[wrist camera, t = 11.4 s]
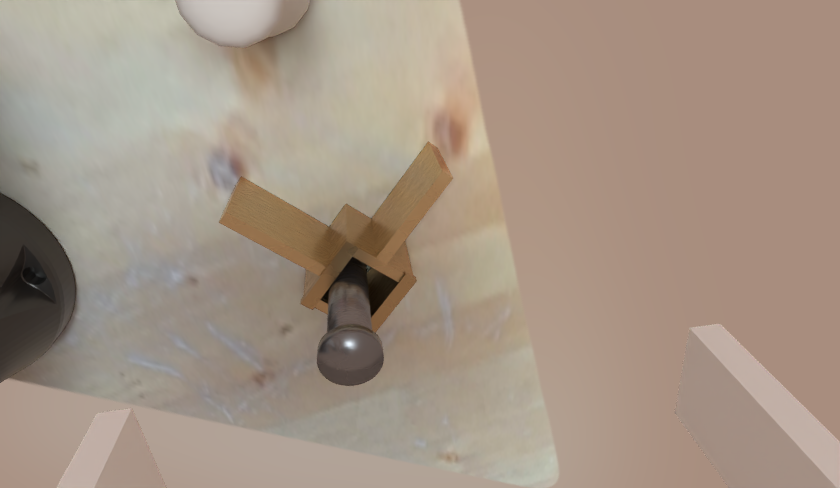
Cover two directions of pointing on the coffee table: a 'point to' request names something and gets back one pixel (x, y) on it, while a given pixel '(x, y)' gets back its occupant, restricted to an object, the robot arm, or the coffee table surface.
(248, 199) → the hinge
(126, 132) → the coffee table surface
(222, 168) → the coffee table surface
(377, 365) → the hinge pin
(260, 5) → the salt shaker
